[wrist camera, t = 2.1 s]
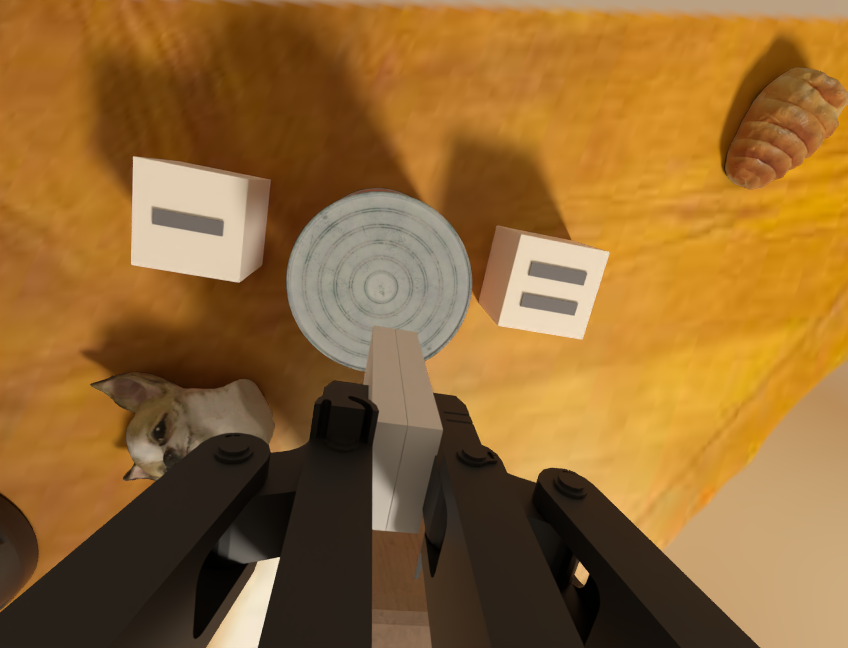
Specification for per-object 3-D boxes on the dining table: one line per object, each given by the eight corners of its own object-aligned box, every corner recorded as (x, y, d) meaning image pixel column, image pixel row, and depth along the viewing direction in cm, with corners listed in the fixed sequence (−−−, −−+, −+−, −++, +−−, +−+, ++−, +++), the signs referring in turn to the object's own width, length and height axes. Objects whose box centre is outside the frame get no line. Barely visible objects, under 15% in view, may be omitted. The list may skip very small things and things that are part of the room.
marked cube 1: (477, 302, 41) (498, 326, 34) (496, 225, 39) (522, 234, 33) (549, 314, 42) (583, 340, 36) (571, 240, 40) (610, 252, 34)
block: (361, 422, 44) (350, 608, 25) (461, 434, 45) (524, 618, 26) (345, 508, 46) (326, 736, 27) (440, 517, 48) (484, 737, 29)
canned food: (470, 248, 40) (509, 275, 28) (388, 343, 41) (393, 404, 30) (368, 158, 37) (366, 147, 25) (285, 265, 38) (247, 300, 27)
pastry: (753, 205, 41) (789, 207, 38) (701, 161, 40) (734, 160, 36) (827, 110, 39) (872, 103, 36) (776, 61, 38) (818, 48, 34)
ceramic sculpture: (275, 511, 35) (82, 533, 35) (299, 449, 44) (143, 466, 43) (246, 387, 32) (33, 410, 32) (278, 345, 40) (109, 363, 40)
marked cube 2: (174, 249, 37) (130, 265, 30) (178, 160, 35) (131, 156, 28) (262, 265, 38) (238, 283, 31) (271, 179, 36) (247, 179, 30)
